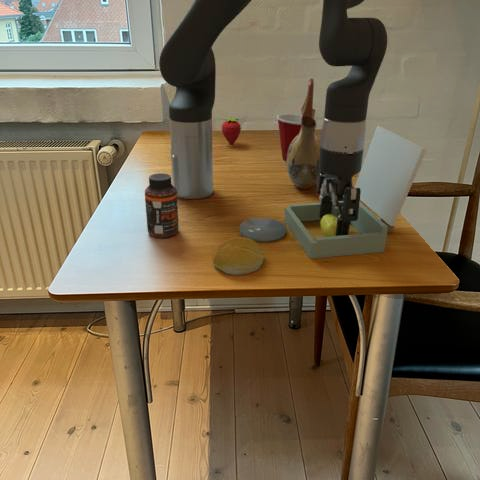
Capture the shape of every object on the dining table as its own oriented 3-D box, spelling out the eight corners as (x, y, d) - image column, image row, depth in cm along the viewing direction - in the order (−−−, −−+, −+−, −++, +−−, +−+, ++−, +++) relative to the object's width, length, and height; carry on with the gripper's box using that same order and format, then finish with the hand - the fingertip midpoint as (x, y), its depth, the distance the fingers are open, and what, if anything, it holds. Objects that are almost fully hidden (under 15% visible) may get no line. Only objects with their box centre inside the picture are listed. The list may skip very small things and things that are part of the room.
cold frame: (309, 258, 80) (312, 232, 78) (283, 220, 94) (285, 198, 92) (383, 251, 83) (388, 226, 80) (347, 215, 96) (350, 193, 94)
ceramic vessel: (323, 199, 105) (334, 84, 93) (283, 196, 106) (290, 83, 94) (320, 175, 119) (330, 74, 108) (286, 173, 120) (292, 73, 109)
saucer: (244, 243, 85) (244, 239, 84) (235, 223, 93) (235, 219, 92) (291, 239, 86) (291, 235, 86) (278, 220, 94) (278, 216, 94)
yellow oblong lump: (320, 244, 85) (322, 225, 83) (318, 225, 92) (320, 208, 90) (343, 245, 84) (346, 226, 83) (340, 227, 92) (342, 209, 90)
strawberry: (221, 148, 140) (221, 115, 135) (222, 142, 147) (221, 110, 142) (240, 148, 140) (241, 115, 136) (240, 142, 147) (240, 110, 142)
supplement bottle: (165, 242, 85) (161, 184, 80) (141, 234, 88) (135, 177, 83) (185, 230, 89) (182, 174, 84) (161, 223, 92) (157, 169, 87)
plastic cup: (314, 165, 126) (318, 121, 121) (275, 164, 127) (277, 121, 121) (310, 154, 136) (313, 113, 131) (273, 153, 136) (275, 112, 131)
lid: (422, 148, 75) (426, 149, 75) (377, 125, 89) (381, 126, 89) (390, 225, 80) (393, 226, 80) (352, 192, 94) (355, 193, 94)
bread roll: (208, 273, 76) (207, 252, 74) (223, 248, 83) (222, 229, 82) (257, 280, 74) (257, 259, 72) (267, 254, 82) (268, 234, 80)
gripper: (308, 135, 86) (302, 214, 93) (337, 157, 73) (328, 247, 81) (345, 133, 87) (337, 211, 94) (380, 154, 75) (367, 243, 82)
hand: (332, 228), depth 88 cm, fingers closed on yellow oblong lump, 8 cm apart
